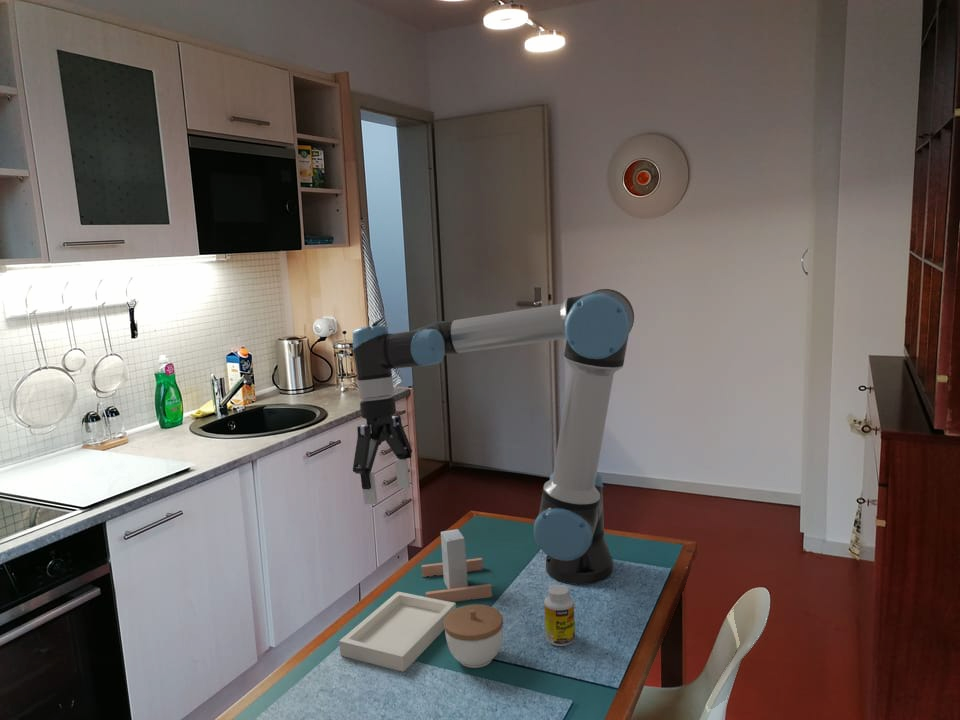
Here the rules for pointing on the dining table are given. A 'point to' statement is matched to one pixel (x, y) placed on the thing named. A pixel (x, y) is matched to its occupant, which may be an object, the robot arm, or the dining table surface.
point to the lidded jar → (474, 634)
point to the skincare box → (454, 559)
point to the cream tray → (397, 631)
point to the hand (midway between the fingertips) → (388, 495)
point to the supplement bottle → (559, 616)
